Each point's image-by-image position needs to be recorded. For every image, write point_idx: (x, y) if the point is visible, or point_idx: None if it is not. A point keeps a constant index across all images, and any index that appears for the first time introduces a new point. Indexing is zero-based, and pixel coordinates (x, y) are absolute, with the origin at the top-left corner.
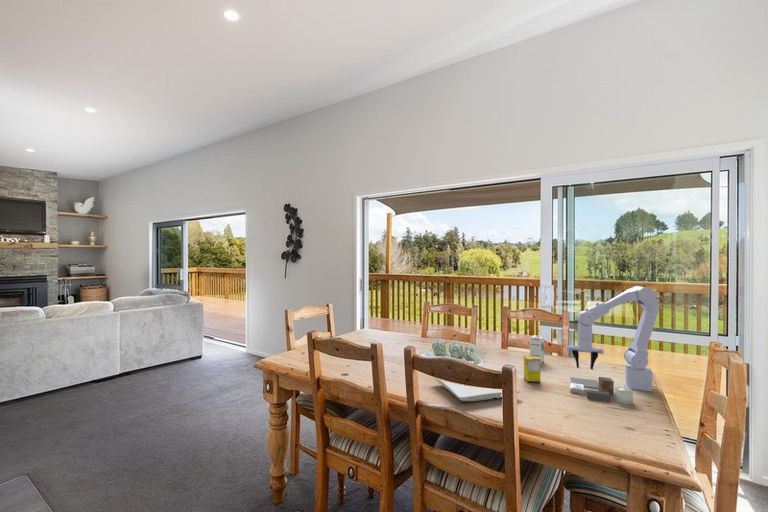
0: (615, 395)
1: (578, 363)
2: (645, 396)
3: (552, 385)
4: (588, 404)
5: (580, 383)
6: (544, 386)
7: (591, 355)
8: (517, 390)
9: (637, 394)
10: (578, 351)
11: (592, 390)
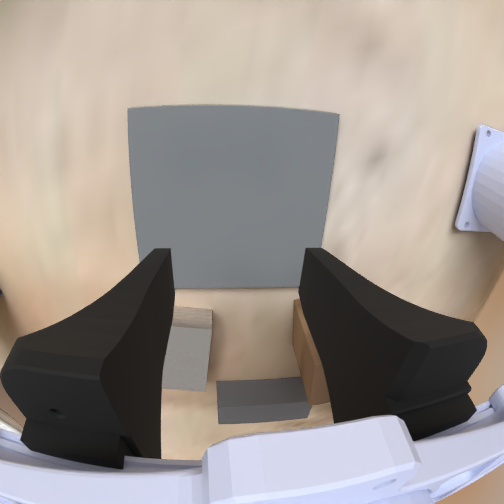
0: (330, 403)
1: (165, 341)
2: (468, 287)
3: (53, 305)
4: (216, 429)
5: (198, 242)
6: (32, 328)
7: (356, 416)
8: (20, 434)
9: (455, 276)
10: (145, 470)
11: (243, 409)
